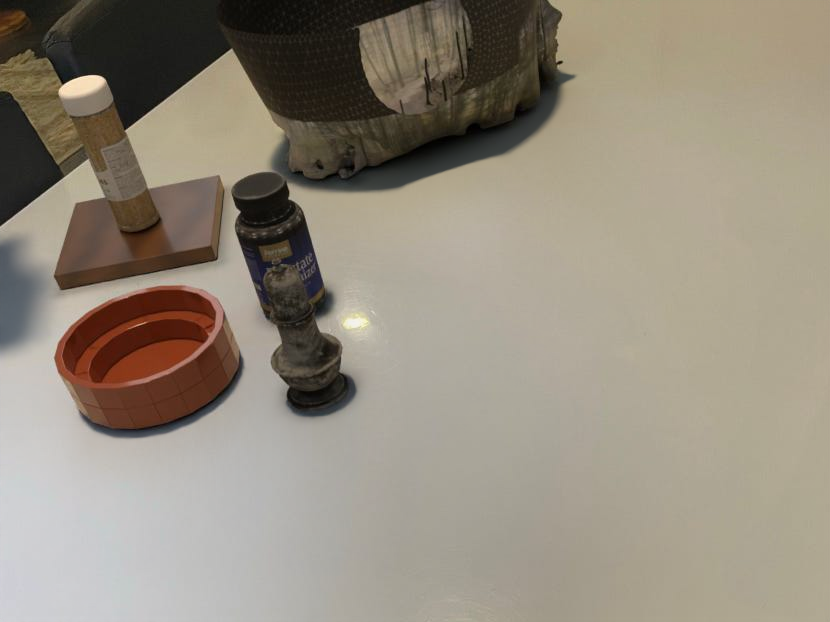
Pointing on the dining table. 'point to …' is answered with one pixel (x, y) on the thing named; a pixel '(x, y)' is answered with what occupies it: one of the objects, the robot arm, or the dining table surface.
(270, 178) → the pill bottle
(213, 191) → the board
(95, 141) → the sprinkles bottle
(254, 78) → the basket
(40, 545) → the dining table surface
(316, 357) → the grey stone chess piece
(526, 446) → the dining table surface
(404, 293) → the dining table surface
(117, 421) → the bowl
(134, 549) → the dining table surface
